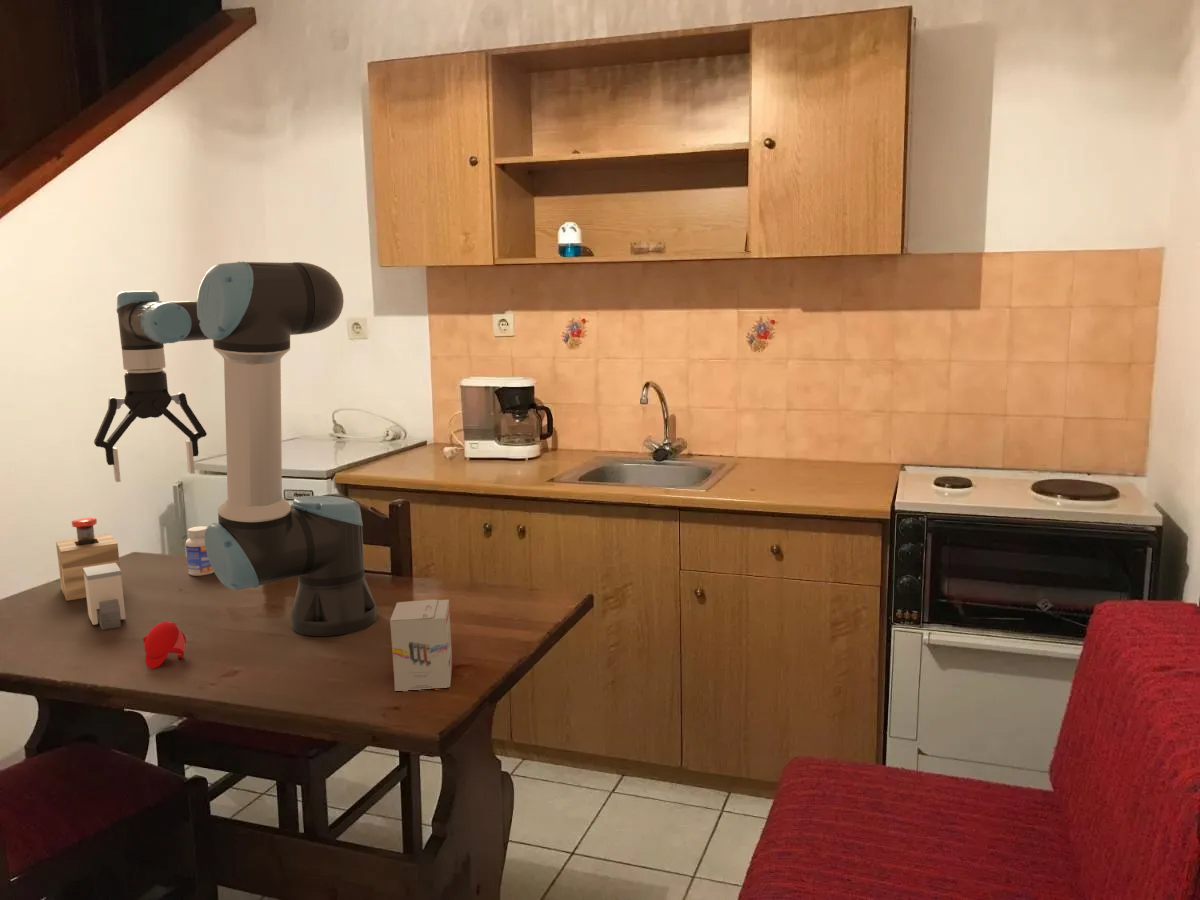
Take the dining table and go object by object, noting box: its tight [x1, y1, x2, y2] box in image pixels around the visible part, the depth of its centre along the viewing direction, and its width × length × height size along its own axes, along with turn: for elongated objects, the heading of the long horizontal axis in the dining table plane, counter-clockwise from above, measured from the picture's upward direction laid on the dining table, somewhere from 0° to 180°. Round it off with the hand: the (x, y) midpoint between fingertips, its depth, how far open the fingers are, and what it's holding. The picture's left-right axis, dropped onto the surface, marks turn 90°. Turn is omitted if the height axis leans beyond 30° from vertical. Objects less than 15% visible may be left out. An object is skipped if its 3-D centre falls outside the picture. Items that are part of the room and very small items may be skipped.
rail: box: [96, 599, 122, 631], centre depth 183 cm, size 22×3×5 cm, turn 34°
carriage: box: [83, 563, 126, 626], centre depth 178 cm, size 6×6×9 cm
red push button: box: [71, 517, 98, 546], centre depth 193 cm, size 4×4×5 cm
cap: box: [142, 621, 187, 670], centre depth 159 cm, size 8×6×6 cm
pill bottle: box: [185, 525, 215, 577], centre depth 206 cm, size 5×5×10 cm
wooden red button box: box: [55, 533, 121, 601], centre depth 195 cm, size 9×10×10 cm
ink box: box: [389, 598, 453, 692], centre depth 150 cm, size 9×9×12 cm
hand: (155, 476), depth 193 cm, fingers open, 13 cm apart
